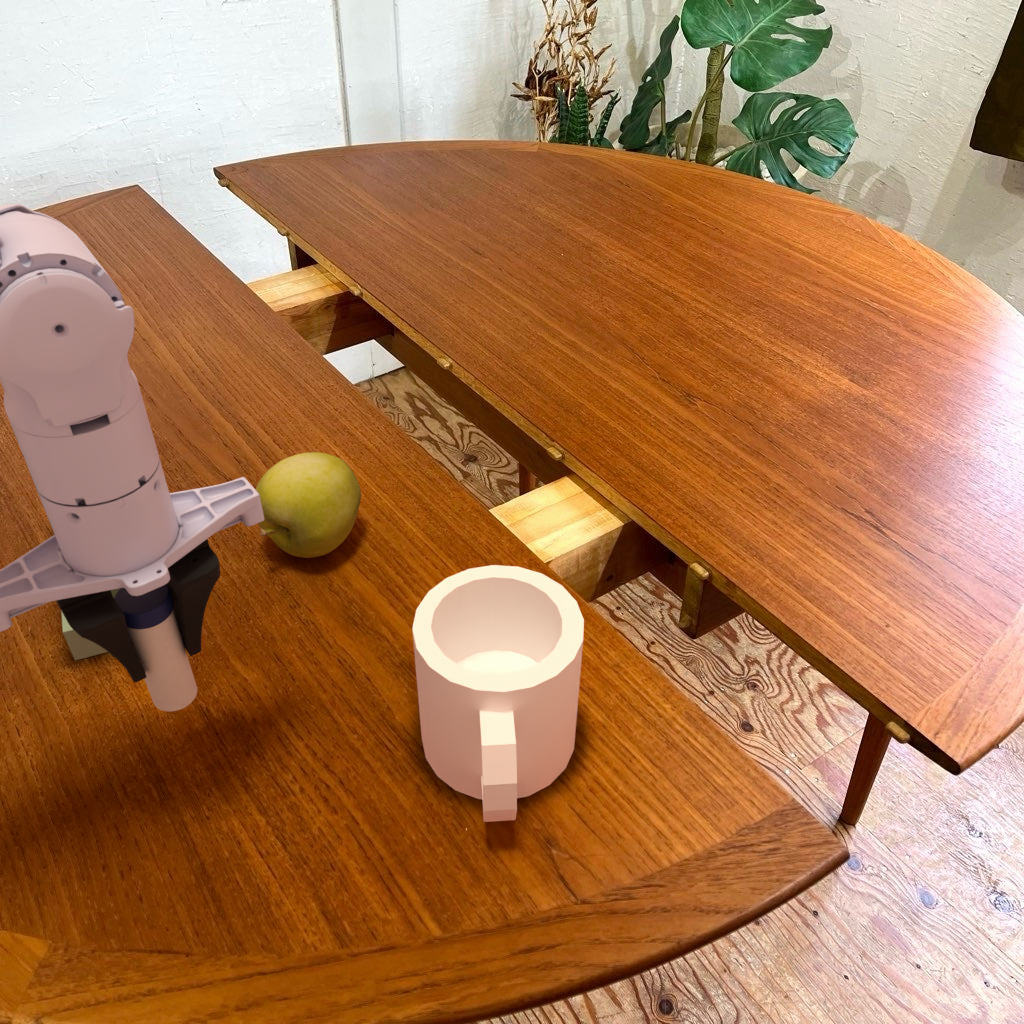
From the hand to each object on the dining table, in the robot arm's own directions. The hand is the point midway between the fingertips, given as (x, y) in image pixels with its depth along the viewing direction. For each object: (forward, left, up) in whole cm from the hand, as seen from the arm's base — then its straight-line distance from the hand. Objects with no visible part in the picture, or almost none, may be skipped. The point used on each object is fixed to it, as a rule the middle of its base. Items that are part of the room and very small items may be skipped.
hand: (161, 656), depth 55 cm
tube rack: (+2, +20, -10) cm, 23 cm away
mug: (+16, -11, -11) cm, 22 cm away
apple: (+16, +14, -11) cm, 24 cm away
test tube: (0, 0, -3) cm, 3 cm away
